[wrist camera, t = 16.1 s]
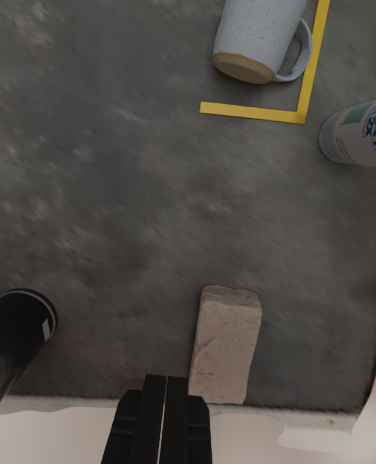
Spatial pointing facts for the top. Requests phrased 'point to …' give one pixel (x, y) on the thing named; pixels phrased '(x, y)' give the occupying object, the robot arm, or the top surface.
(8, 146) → the top surface
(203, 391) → the brick
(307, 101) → the tape outline
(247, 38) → the ceramic mug
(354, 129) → the spray paint can
